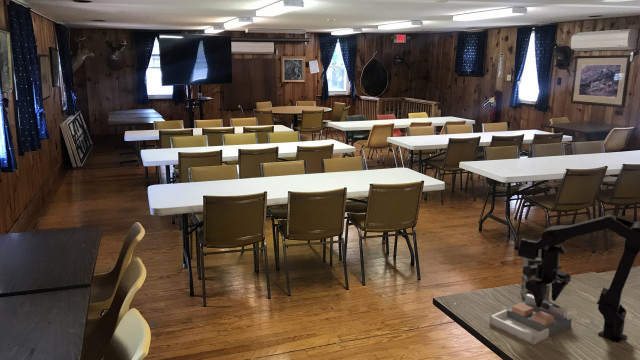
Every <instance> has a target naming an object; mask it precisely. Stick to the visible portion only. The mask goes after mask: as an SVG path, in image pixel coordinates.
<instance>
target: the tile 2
mask: <svg viewBox="0 0 640 360" xmlns="http://www.w3.org/2000/svg"><path fill="white" fill-rule="evenodd" d="M532 320H533V321H535V322H537V323H539V324H541V325H544V326H546V325H549V324H551V323H553V322H554V316H552V315H549V314H547V313H544V312H542V311H540V312H538V313H535V314H533V315H532Z"/></svg>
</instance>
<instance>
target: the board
mask: <svg viewBox="0 0 640 360" xmlns="http://www.w3.org/2000/svg"><path fill="white" fill-rule="evenodd" d="M522 303H523V304H525V301H523V302H522ZM528 306H529V305H528ZM530 307H531V306H530ZM505 310H508V311H507V317H509V318H511V319H513V320H515V321H518V322H520V323H522V324H524V325H526V326H528V327H531V328H533V329H535V330H537V331H539V332H540V331H542V330H544V329H546V328H548V329H549V337H548V338H550V337H552V336H555V335H556V334H559V333H560V332H562V331H565V330H567V329H568V328H570V327H572V319H573V318H572V317H569V316H567V319H564V320H562V319H560V318H557V317H555V316H554V322H553V323H551V324H549V325H546V326H544V325H541V324H539V323H537V322H535V321H533V320H532V315H533V314H535V313H538V312H540V311H541V310H538V309H536V308H534V307H533V313H532V314H529V315H527V316H525V317H524V316H521V315H519V314H517V313H515V312H512V306H510V307H509V308H506V309H505ZM542 312H543V311H542ZM544 313H545V312H544ZM547 314H548V313H547ZM549 315H550V314H549ZM552 316H553V315H552Z"/></svg>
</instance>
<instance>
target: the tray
mask: <svg viewBox="0 0 640 360" xmlns="http://www.w3.org/2000/svg"><path fill="white" fill-rule="evenodd" d="M507 311H508V310H506V309H503V310H502V311H501V310H500V311H499V312H497V313H495V314H492V315H489V325H491V326H494V327H496V328H497V329H499V330H502V331H504V332H506V333H508V334H509V335H512V336H514V337H516V338H517V339H520V340H522V341H523V342H525V343H528V344H530V345H532V346H534V345H536V344H538V343H540V342H542V341H544V340H546V339H549V338H550V337H549V329H548V328H546V329H544V330H542V331H540V332H539V331H537V330H535V329H533V328H531V327H528V326H526V325H524V324H522V323H520V322H518V321H515V320H513V319H511V318H509V317H507Z"/></svg>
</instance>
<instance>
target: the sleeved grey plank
mask: <svg viewBox="0 0 640 360" xmlns="http://www.w3.org/2000/svg"><path fill="white" fill-rule="evenodd" d="M524 302H525V304H526V305H529V306H531V307H534V308H536V309H538V310H541V311H543V312H545V313H548V314H550V315H553V316H555V317H557V318H560V319H562V320H564V319H567V317H568V311H569V310H568V308H566V307H564V306H561V305H559V304H556V303H553V302H551V301H549V300H543V302H542V304H541V306H540V308H539V307H537V306H536V303H535V299H534V296H533V295H531V294H527V295H526V296H525V298H524Z"/></svg>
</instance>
